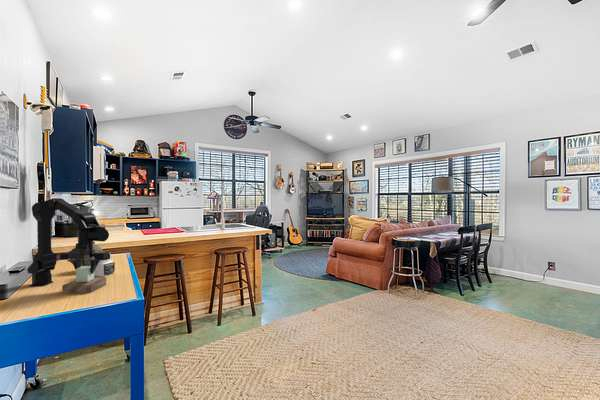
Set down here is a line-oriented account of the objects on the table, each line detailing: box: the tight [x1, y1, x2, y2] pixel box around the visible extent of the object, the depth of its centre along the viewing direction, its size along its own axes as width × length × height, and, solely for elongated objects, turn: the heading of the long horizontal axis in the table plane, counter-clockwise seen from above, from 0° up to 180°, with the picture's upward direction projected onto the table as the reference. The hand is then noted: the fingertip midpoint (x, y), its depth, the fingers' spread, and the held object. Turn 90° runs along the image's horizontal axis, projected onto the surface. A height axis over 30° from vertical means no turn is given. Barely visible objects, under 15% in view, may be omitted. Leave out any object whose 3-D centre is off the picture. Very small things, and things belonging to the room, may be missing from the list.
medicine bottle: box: [94, 253, 116, 278], centre depth 160 cm, size 7×7×12 cm
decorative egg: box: [81, 244, 104, 267], centre depth 169 cm, size 12×12×15 cm
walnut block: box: [61, 276, 107, 294], centre depth 136 cm, size 12×12×4 cm
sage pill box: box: [75, 266, 95, 282], centre depth 136 cm, size 5×5×6 cm
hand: (85, 273), depth 136 cm, fingers open, 6 cm apart
